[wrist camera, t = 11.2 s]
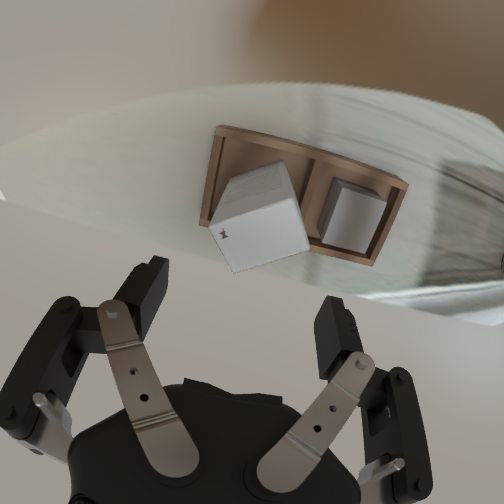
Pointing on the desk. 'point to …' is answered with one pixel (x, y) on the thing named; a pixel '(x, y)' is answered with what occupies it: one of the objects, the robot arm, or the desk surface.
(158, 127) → the desk surface
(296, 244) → the skincare box
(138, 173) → the desk surface
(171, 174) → the desk surface
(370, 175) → the wooden divided tray
